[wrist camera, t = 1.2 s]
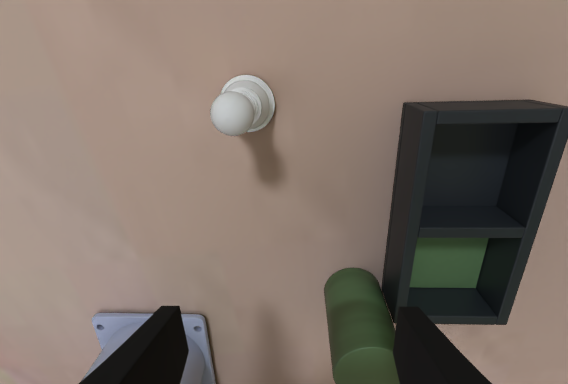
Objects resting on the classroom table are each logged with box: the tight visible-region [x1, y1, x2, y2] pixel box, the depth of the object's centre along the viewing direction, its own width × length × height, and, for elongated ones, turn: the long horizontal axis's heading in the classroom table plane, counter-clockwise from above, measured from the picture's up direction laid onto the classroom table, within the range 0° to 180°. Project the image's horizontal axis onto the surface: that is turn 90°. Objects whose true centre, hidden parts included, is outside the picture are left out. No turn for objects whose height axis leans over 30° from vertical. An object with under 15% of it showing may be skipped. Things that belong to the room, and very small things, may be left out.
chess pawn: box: [210, 75, 275, 136], centre depth 14 cm, size 3×3×5 cm
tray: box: [382, 100, 568, 325], centre depth 17 cm, size 6×12×3 cm, turn 1°
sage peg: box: [324, 268, 400, 384], centre depth 18 cm, size 4×4×6 cm
